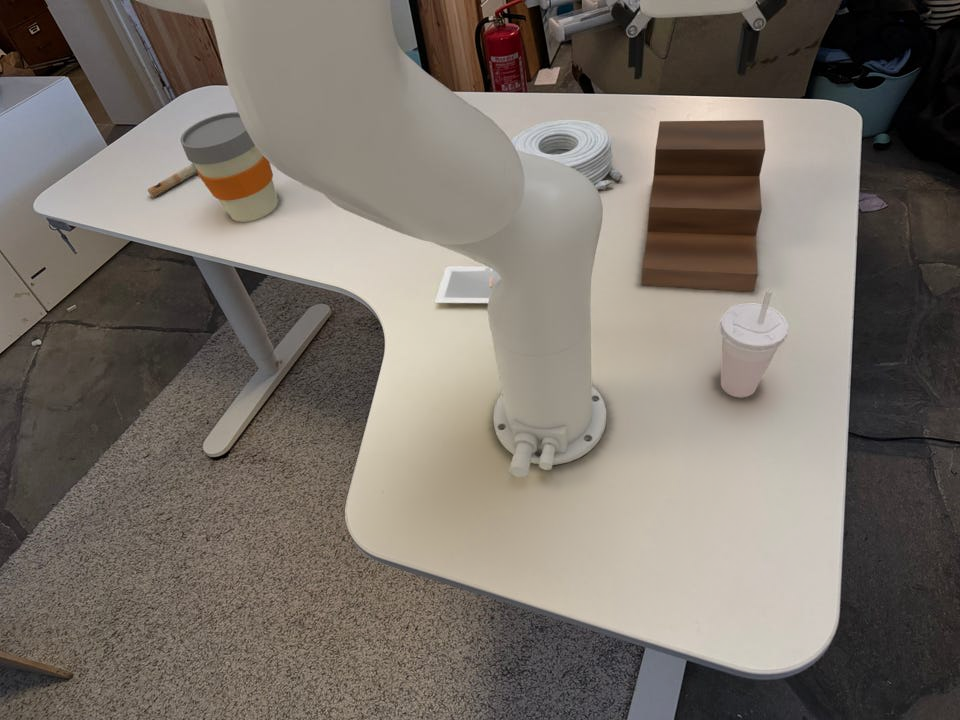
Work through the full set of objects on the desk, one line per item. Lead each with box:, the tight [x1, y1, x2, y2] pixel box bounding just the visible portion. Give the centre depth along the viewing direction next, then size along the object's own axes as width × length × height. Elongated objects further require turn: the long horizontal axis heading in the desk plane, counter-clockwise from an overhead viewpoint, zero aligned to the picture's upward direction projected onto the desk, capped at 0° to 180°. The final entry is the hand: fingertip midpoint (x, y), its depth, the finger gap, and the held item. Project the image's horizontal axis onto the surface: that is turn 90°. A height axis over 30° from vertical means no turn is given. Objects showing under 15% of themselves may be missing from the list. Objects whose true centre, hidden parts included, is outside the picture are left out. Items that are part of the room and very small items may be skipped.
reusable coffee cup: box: [180, 111, 279, 223], centre depth 105 cm, size 13×13×15 cm
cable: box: [511, 119, 623, 191], centre depth 101 cm, size 18×18×6 cm
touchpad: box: [434, 265, 501, 304], centre depth 84 cm, size 8×15×2 cm, turn 80°
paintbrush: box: [147, 162, 197, 198], centre depth 122 cm, size 4×3×20 cm
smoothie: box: [719, 288, 789, 399], centre depth 63 cm, size 6×6×14 cm
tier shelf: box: [640, 119, 766, 293], centre depth 83 cm, size 24×14×11 cm, turn 165°
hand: (688, 72), depth 60 cm, fingers open, 9 cm apart
